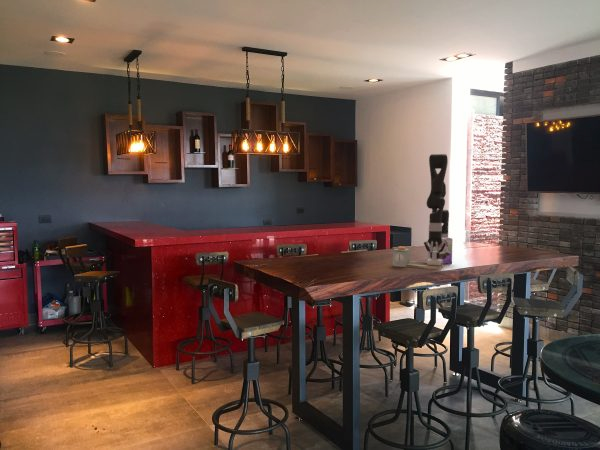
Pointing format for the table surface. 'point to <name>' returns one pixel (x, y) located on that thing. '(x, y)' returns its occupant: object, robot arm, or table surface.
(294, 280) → the table surface
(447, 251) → the candy box
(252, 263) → the table surface
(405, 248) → the button
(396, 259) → the gauge cabinet
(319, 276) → the table surface
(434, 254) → the carriage
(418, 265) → the rail board
